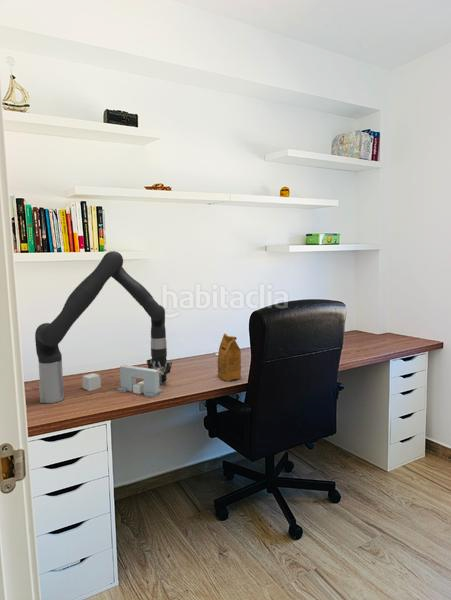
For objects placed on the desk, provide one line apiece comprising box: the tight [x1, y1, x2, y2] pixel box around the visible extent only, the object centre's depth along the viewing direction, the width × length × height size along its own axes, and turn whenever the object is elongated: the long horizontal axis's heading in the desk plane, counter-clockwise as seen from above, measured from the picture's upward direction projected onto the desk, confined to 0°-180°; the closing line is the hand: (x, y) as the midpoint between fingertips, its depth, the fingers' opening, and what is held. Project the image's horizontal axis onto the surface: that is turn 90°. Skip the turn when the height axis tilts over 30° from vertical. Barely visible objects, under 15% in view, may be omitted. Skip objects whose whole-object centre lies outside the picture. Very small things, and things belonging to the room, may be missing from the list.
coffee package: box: [217, 333, 242, 382], centre depth 210 cm, size 10×12×22 cm
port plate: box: [116, 364, 164, 399], centre depth 190 cm, size 8×20×11 cm, turn 62°
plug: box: [132, 372, 167, 395], centre depth 196 cm, size 19×4×4 cm, turn 152°
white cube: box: [81, 373, 102, 392], centre depth 197 cm, size 6×6×6 cm
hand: (159, 381), depth 203 cm, fingers closed on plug, 4 cm apart
